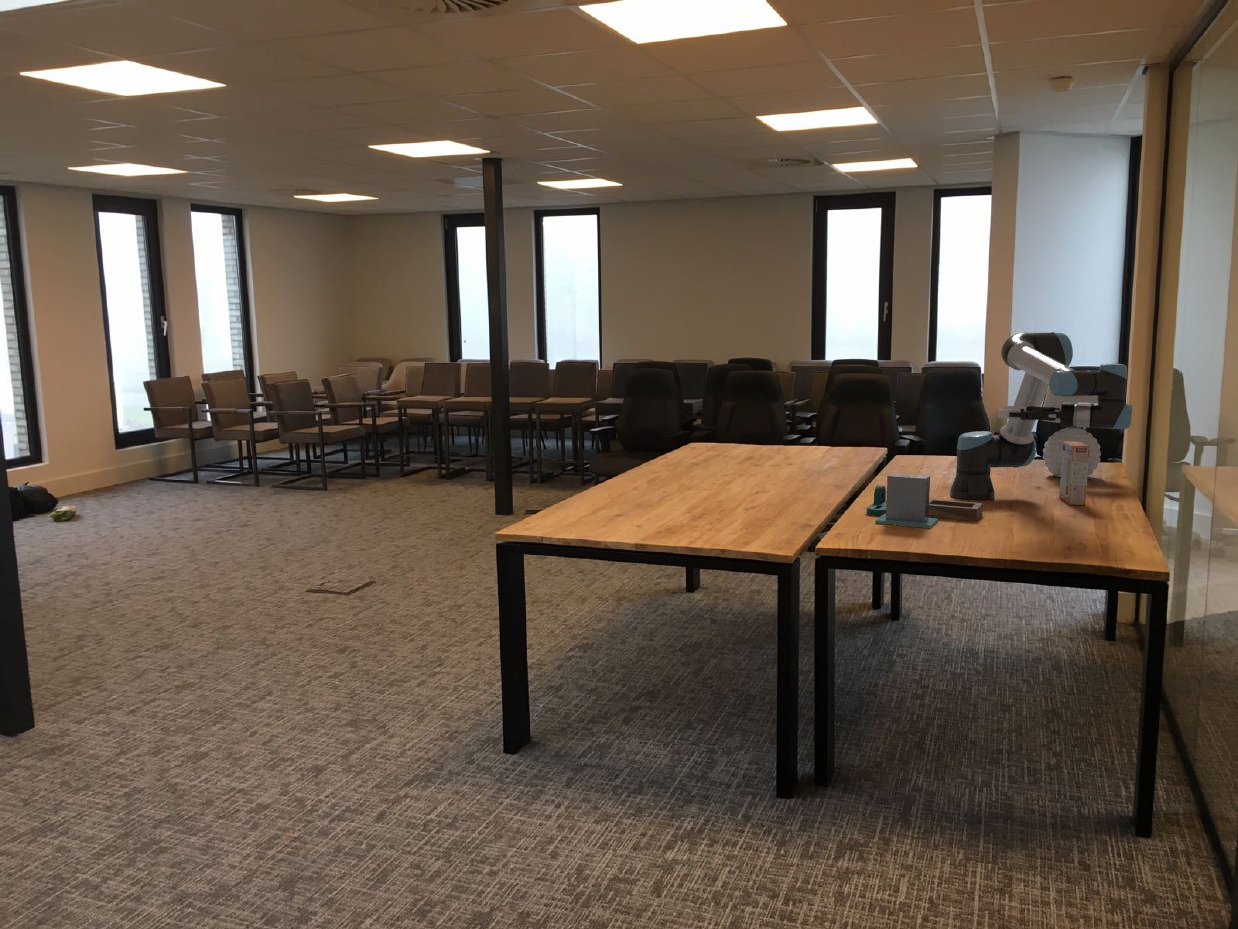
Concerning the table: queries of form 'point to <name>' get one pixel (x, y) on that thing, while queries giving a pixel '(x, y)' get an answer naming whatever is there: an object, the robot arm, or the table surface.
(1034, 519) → the table surface
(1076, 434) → the table lamp
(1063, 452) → the cracker box
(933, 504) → the slotted block
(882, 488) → the bracket
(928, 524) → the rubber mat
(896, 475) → the dark grey block
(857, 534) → the table surface
